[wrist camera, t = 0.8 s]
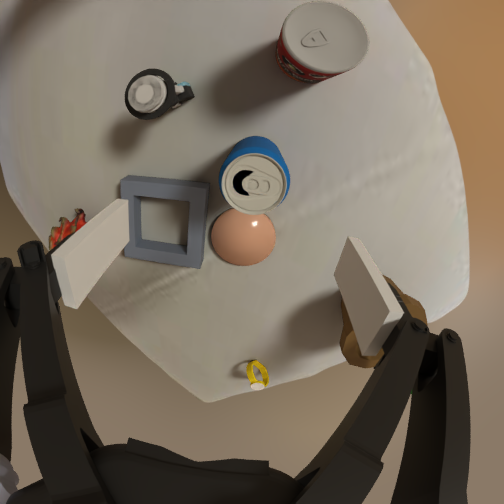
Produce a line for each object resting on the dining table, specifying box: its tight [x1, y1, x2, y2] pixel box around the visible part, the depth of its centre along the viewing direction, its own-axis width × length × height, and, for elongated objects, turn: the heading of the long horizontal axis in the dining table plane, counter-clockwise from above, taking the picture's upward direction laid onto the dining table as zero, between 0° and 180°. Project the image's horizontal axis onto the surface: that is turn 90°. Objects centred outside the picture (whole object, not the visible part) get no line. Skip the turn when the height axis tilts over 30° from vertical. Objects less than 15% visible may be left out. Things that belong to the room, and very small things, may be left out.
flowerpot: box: [340, 275, 427, 394], centre depth 31 cm, size 14×14×30 cm
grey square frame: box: [121, 175, 210, 269], centre depth 36 cm, size 12×12×2 cm
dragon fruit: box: [49, 208, 87, 250], centre depth 36 cm, size 8×8×12 cm
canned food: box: [276, 1, 369, 83], centre depth 21 cm, size 8×8×11 cm
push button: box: [125, 69, 195, 120], centre depth 25 cm, size 7×5×10 cm
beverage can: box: [219, 136, 290, 215], centre depth 28 cm, size 6×6×12 cm
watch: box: [246, 360, 269, 390], centre depth 51 cm, size 6×3×6 cm, turn 37°
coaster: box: [211, 208, 276, 266], centre depth 38 cm, size 9×9×1 cm
